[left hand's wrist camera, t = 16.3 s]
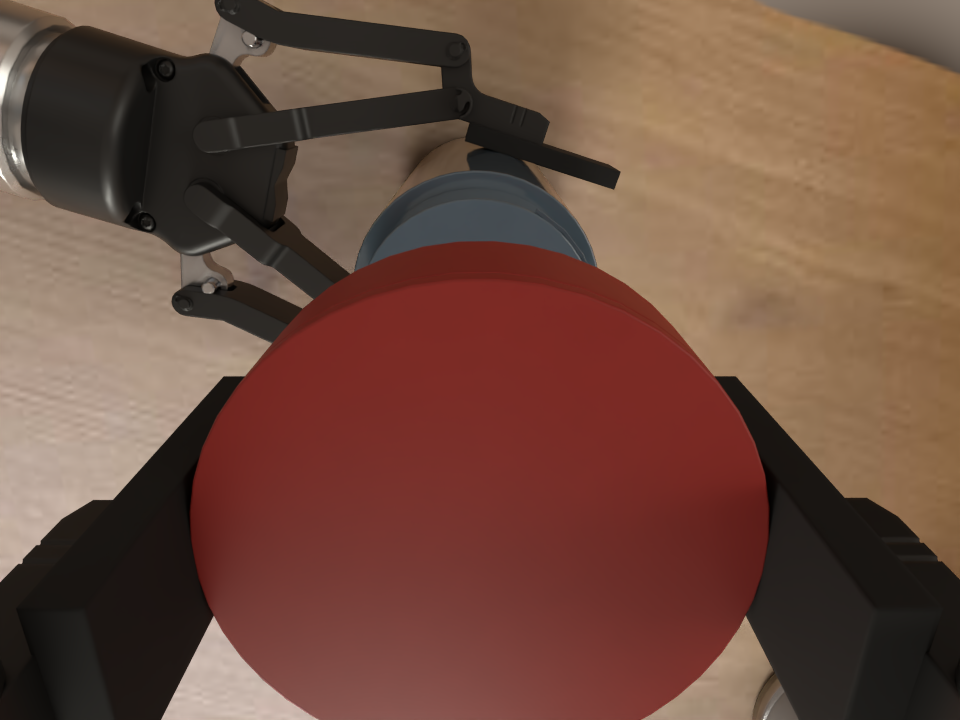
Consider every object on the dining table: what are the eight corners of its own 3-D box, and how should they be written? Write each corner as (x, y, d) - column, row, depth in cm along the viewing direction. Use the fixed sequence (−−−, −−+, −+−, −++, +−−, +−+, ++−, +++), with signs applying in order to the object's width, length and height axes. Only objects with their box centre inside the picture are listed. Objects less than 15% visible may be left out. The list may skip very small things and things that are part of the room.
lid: (786, 292, 11) (863, 342, 9) (643, 681, 14) (674, 791, 12) (257, 193, 11) (197, 221, 8) (230, 622, 14) (181, 725, 12)
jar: (492, 316, 39) (502, 481, 22) (372, 231, 37) (289, 345, 21) (583, 199, 36) (668, 290, 20) (459, 102, 34) (443, 117, 18)
